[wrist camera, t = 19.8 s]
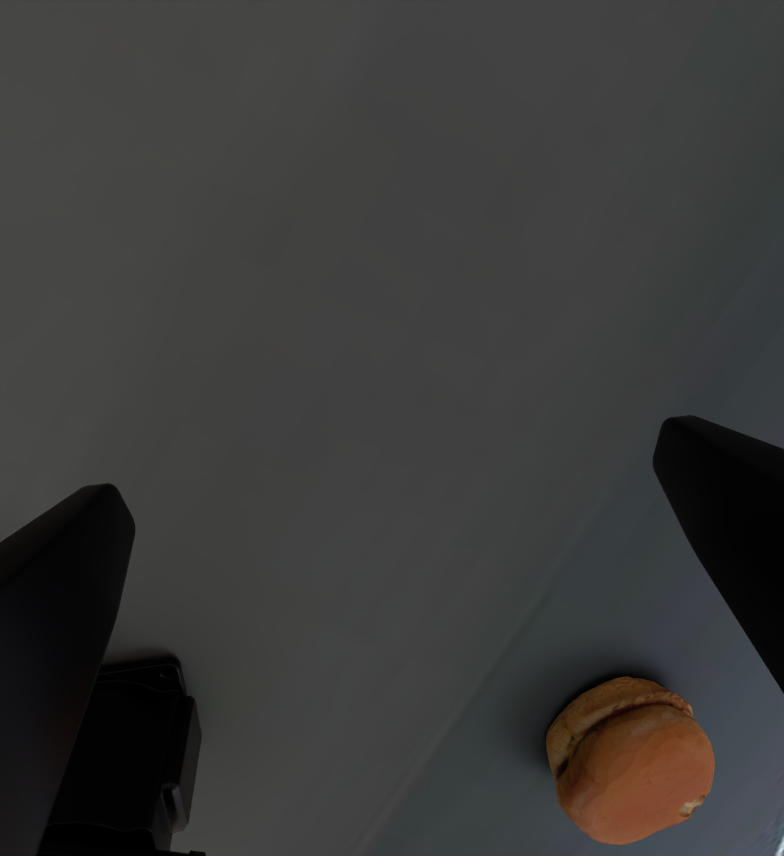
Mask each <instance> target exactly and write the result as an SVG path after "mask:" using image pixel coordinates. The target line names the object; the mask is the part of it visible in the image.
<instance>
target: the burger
mask: <svg viewBox="0 0 784 856" xmlns="http://www.w3.org/2000/svg"><path fill="white" fill-rule="evenodd" d="M693 717H694V715H693V712H692V708H691V706H690V704H689V703H688V702H687V701H686V700H683V698H682V696H680V695H677V694H676V693H674V692H672V691H669V690H667V689H666V688H665V687H661V686H660V685H658V684H657V683H655V682H653V681H650V680H645V679H640V678H635V679H634V678H631V677H627V676H625V677H620V678H616V679H612V680H610V681H607V682H604V683H602V684H600V685H599V686H597V687H595V688H592V689H590V690H589V691H586V692H584V693H583V694H581V695H580V696H579V697H578V698H577V699H575V700H573V701H572V703H570V704H569V705H568V706H567V707H566V708H565V709H564V710H563V711H562V713H561V714H559V715H558V716H557V718H556V719H555V720H554V722H553V723H552V725H551V726H550V728H549V729H548V732H547V738H546V745H547V754H548V760H549V764H550V769H551V772H552V773H553V776H554V778H555V779H556V781H557V782H556V791H557V798H558V800H557V801H558V803H559V804H560V806H561V808H562V809H563V810H564V812H565V813H566V814H567V816H568V817H569V818H570V819H571V820H572V821H573V822H574V823H575V824H576V825H577V826H578V827H579V828H580V829H581V830H582V831H583V832H584V833H586V834H587V835H588V836H590V837H591V838H593V839H594V840H595V841H599V842H603V843H607V844H617V845H623V844H627V843H632V842H636V841H638V840H640V839H643V838H645V837H647V836H650V835H651V834H653V833H655V832H657V831H659V830H662V829H665V828H667V827H670V826H673V825H675V824H678V823H680V822H683V821H685V820H687V819H689V818H691V814H692V812H693V811H694V810H695V807H696V806H699V805H702V804H703V801H704V798H705V797H706V796H707V794H708V793H709V791H710V788H711V785H712V780H713V774H714V768H715V762H714V755H713V750H712V746H711V743H710V741H709V739H708V737H707V735H706V733H705V732H704V731H703V729H702V728H701V727H700V725H699V724H698V723H697V722H696V721H695V720H694V719H693Z"/></svg>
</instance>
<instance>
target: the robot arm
mask: <svg viewBox="0 0 784 856" xmlns="http://www.w3.org/2000/svg"><path fill="white" fill-rule="evenodd" d="M653 468H654V471H655V474H656V476H657V478H658V480H659V482H660V484H661V486H662V488H663V490H664V492H665V494H666V496H667V498H668V500H669V502H670V504H671V506H672V508H673V511H674V513H675V515H676V517H677V519H678V521H679V523H680V525H681V527H682V529H683V531H684V533H685V535H686V537H687V539H688V541H689V543H690V545H691V546H692V548H693V550H694V552H695V553H696V555H697V557H698V558H699V560H700V562H701V563H702V565H703V567H704V568H705V570H706V571H707V573H708V575H709V576H710V578H711V579H712V581H713V582H714V584H715V586H716V587H717V589H718V590H719V592H720V594H721V595H722V597H723V598H724V600H725V601H726V603H727V605H728V606H729V608H730V609H731V611H732V612H733V614H734V616H735V617H736V619H737V620H738V622H739V624H740V625H741V627H742V628H743V630H744V631H745V633H746V635H747V636H748V638H749V639H750V641H751V643H752V644H753V646H754V647H755V649H756V650H757V652H758V654H759V655H760V657H761V658H762V660H763V662H764V663H765V665H766V666H767V668H768V669H769V671H770V673H771V674H772V676H773V677H774V679H775V681H776V682H777V684H778V685H779V687H780V688H781V690H782V692H783V693H784V449H782V448H780V447H777V446H774V445H772V444H769V443H766V442H764V441H761V440H758V439H755V438H753V437H750V436H747V435H745V434H742V433H739V432H737V431H734V430H731V429H729V428H726V427H723V426H720V425H718V424H715V423H712V422H710V421H707V420H704V419H702V418H699V417H696V416H691V415H688V416H679V417H671V418H668V419H666V420H665V421H664V422H663V423H662V426H661V429H660V433H659V437H658V440H657V444H656V448H655V452H654V455H653ZM134 537H135V523H134V519H133V517H132V515H131V513H130V511H129V509H128V508H127V506H126V504H125V502H124V500H123V498H122V496H121V494H120V492H119V490H118V489H117V488H116V487H115V486H114V485H113V484H109V483H106V484H97V485H89V486H85V487H82V488H81V489H79V490H78V491H76V492H75V493H73V494H72V495H70V496H69V497H67V498H66V499H64V500H63V501H61V502H60V503H58V504H57V505H55V506H54V507H52V508H51V509H49V510H48V511H46V512H45V513H43V514H42V515H40V516H39V517H37V518H36V519H34V520H33V521H31V522H30V523H28V524H27V525H25V526H24V527H22V528H21V529H19V530H18V531H16V532H15V533H13V534H12V535H10V536H9V537H8V538H6V539H5V540H3V541H2V542H0V856H206V854H205V852H199V851H190V852H189V853H181V852H172V851H170V845H171V840H172V834H173V833H175V832H179V831H183V829H184V828H185V827H186V825H187V824H188V822H189V816H190V810H191V803H192V796H193V790H194V783H195V777H196V770H197V764H198V757H199V750H200V744H201V737H202V734H201V729H200V724H199V719H198V713H197V708H196V703H195V699H194V698H193V697H191V696H187V693H186V688H185V683H184V678H183V673H182V668H181V663H180V662H179V660H177V659H176V658H173V657H165V658H159V659H152V660H145V661H139V662H132V663H125V664H119V665H112V666H106V667H100V666H101V663H102V660H103V657H104V654H105V651H106V648H107V645H108V642H109V639H110V637H111V633H112V630H113V627H114V624H115V621H116V617H117V613H118V609H119V605H120V601H121V596H122V592H123V587H124V582H125V578H126V573H127V569H128V564H129V559H130V555H131V550H132V546H133V541H134ZM166 669H171V670H166Z"/></svg>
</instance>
